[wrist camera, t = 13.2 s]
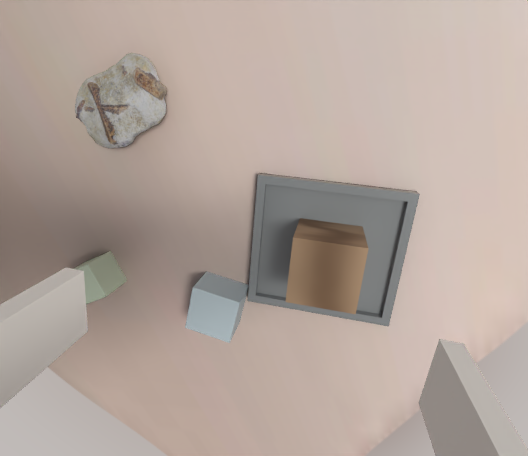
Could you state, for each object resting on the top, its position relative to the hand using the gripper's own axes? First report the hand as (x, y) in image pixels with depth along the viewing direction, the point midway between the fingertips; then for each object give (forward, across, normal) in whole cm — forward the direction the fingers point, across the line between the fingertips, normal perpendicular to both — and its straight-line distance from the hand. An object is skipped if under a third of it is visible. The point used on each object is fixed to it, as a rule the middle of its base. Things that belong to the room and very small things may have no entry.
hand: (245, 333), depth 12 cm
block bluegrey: (+22, -7, -12) cm, 27 cm away
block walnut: (+22, +4, -4) cm, 22 cm away
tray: (+22, +4, -4) cm, 23 cm away
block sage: (+23, -21, -12) cm, 33 cm away
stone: (+23, -14, +6) cm, 28 cm away
